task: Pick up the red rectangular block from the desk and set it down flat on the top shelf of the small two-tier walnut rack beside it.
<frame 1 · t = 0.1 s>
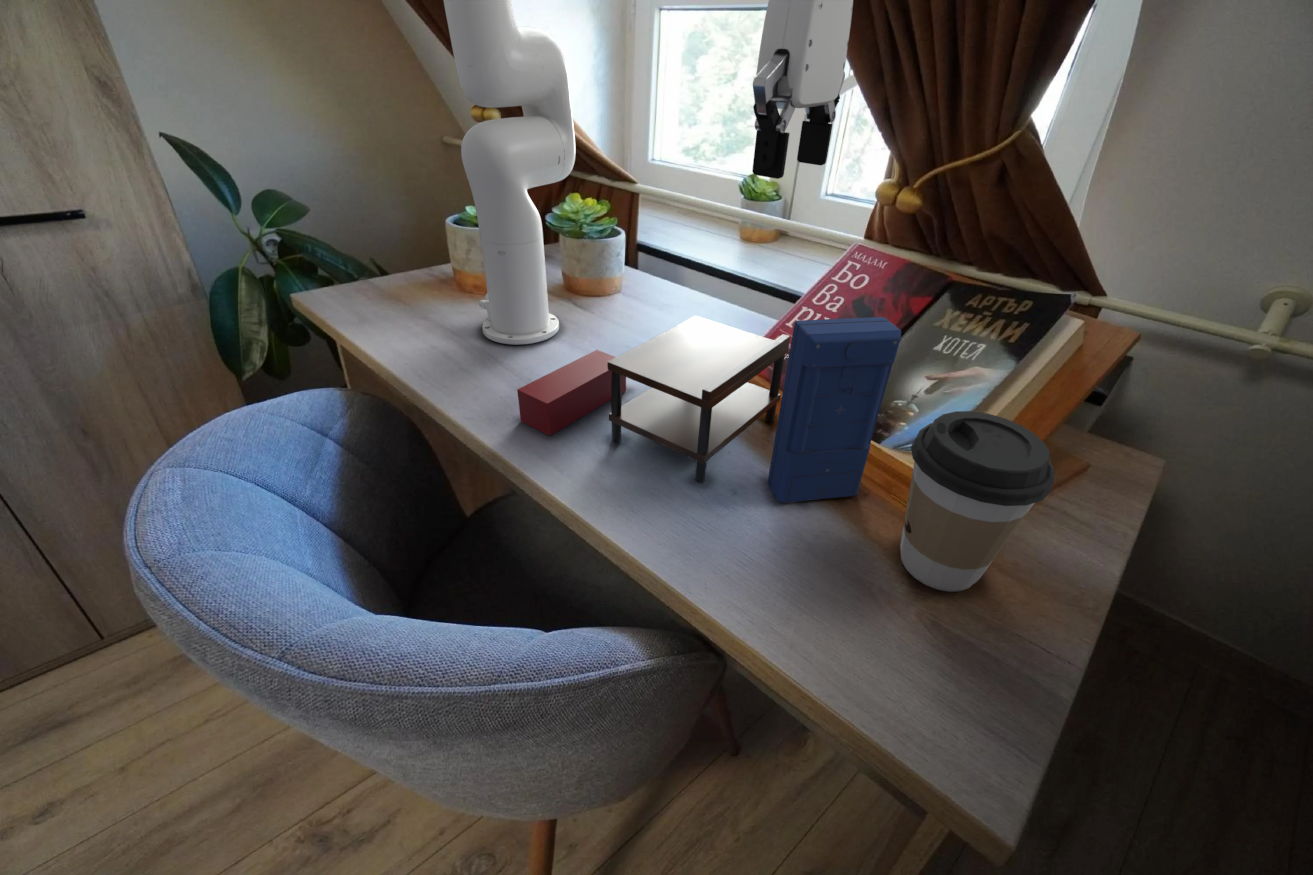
hand: (790, 169, 63), 31 cm above the table, tool pointing down, fingers open, 9 cm apart
electronic device: (810, 489, 69), on the table
rack: (695, 430, 78), on the table
red rectangular block: (575, 405, 82), on the table
coffee cup: (937, 565, 60), on the table
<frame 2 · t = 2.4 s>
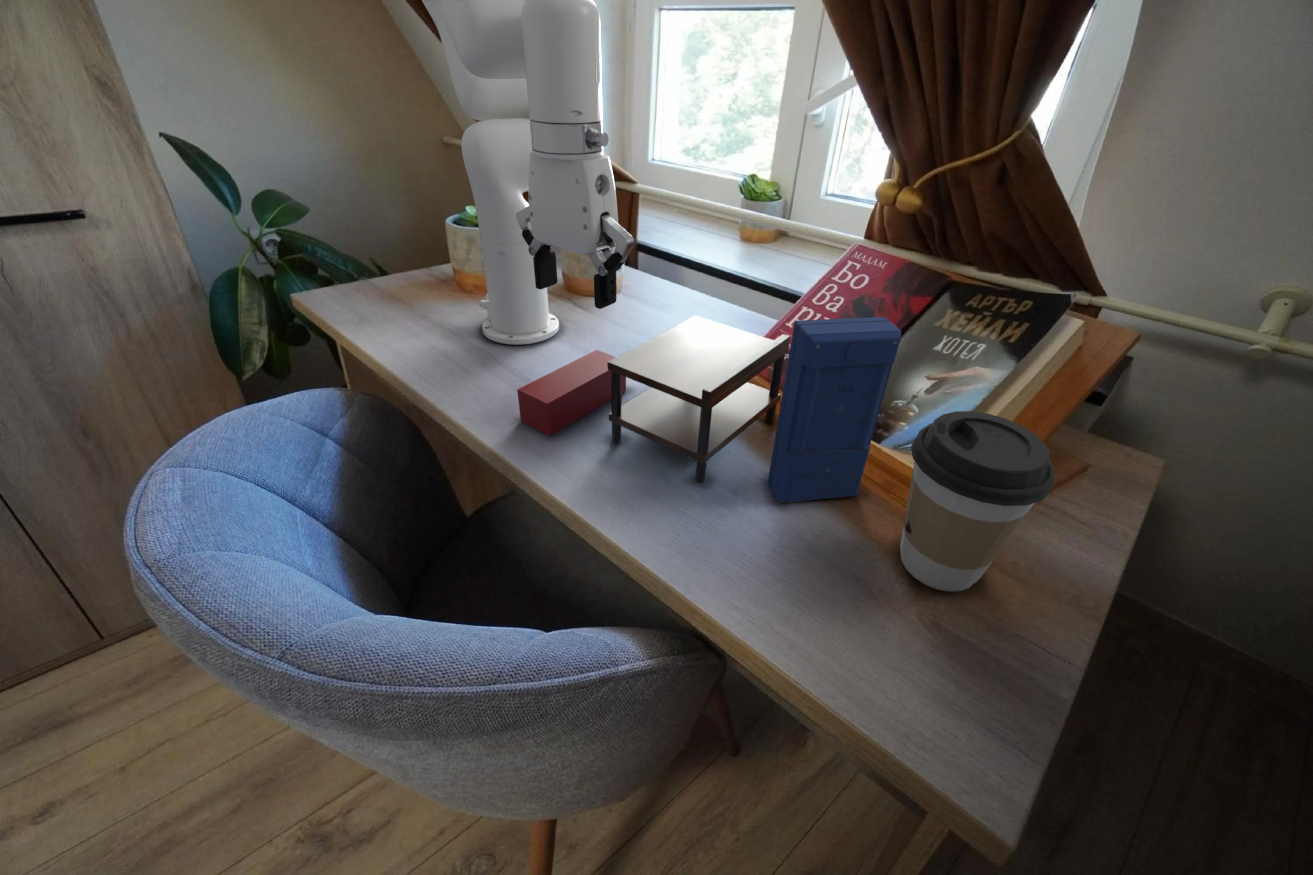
hand: (575, 295, 73), 16 cm above the table, tool pointing down, fingers open, 9 cm apart
nothing on the table moved.
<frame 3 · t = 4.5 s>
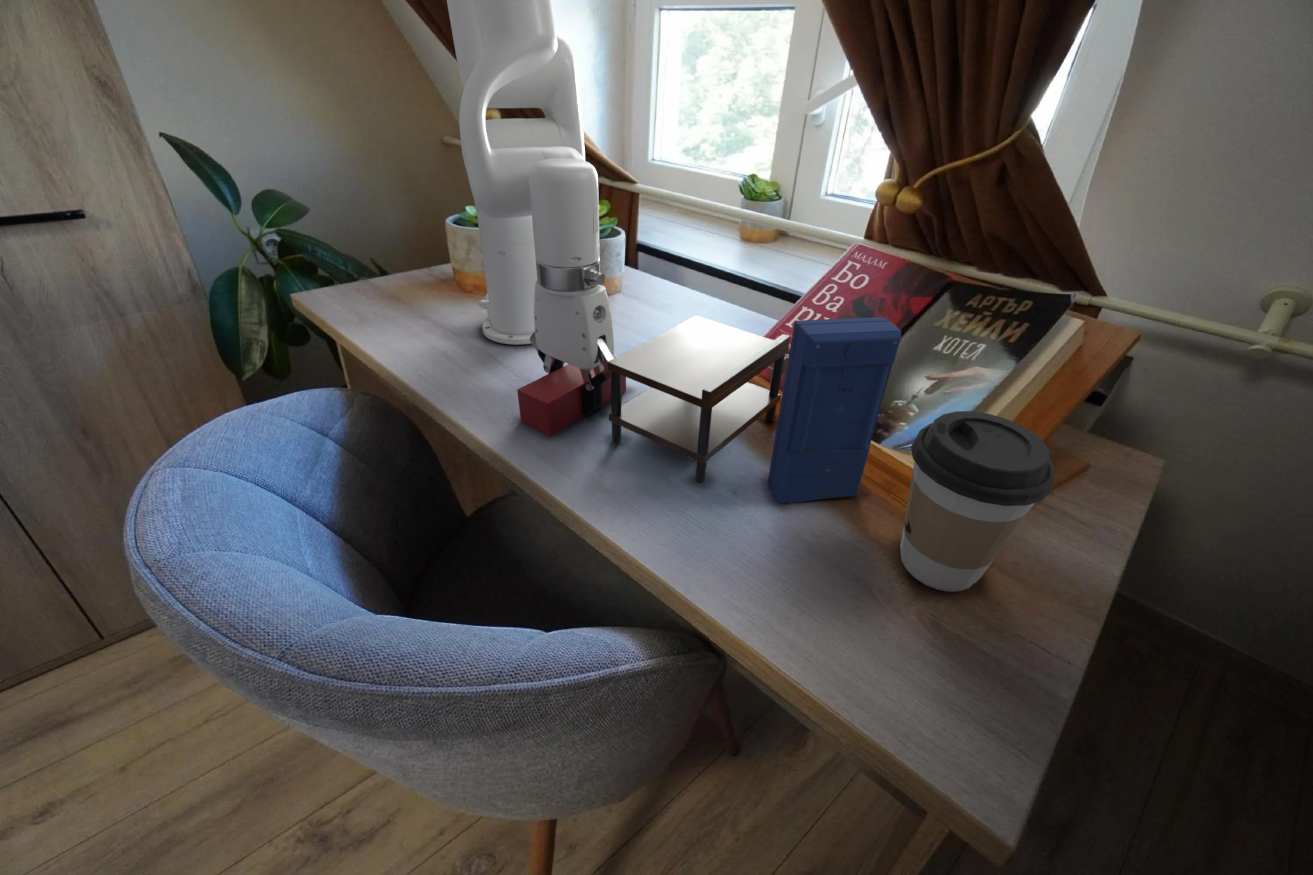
hand: (575, 402, 82), 0 cm above the table, tool pointing down, fingers closed on red rectangular block, 5 cm apart
red rectangular block: (575, 405, 82), on the table, touching gripper
everything else where it was.
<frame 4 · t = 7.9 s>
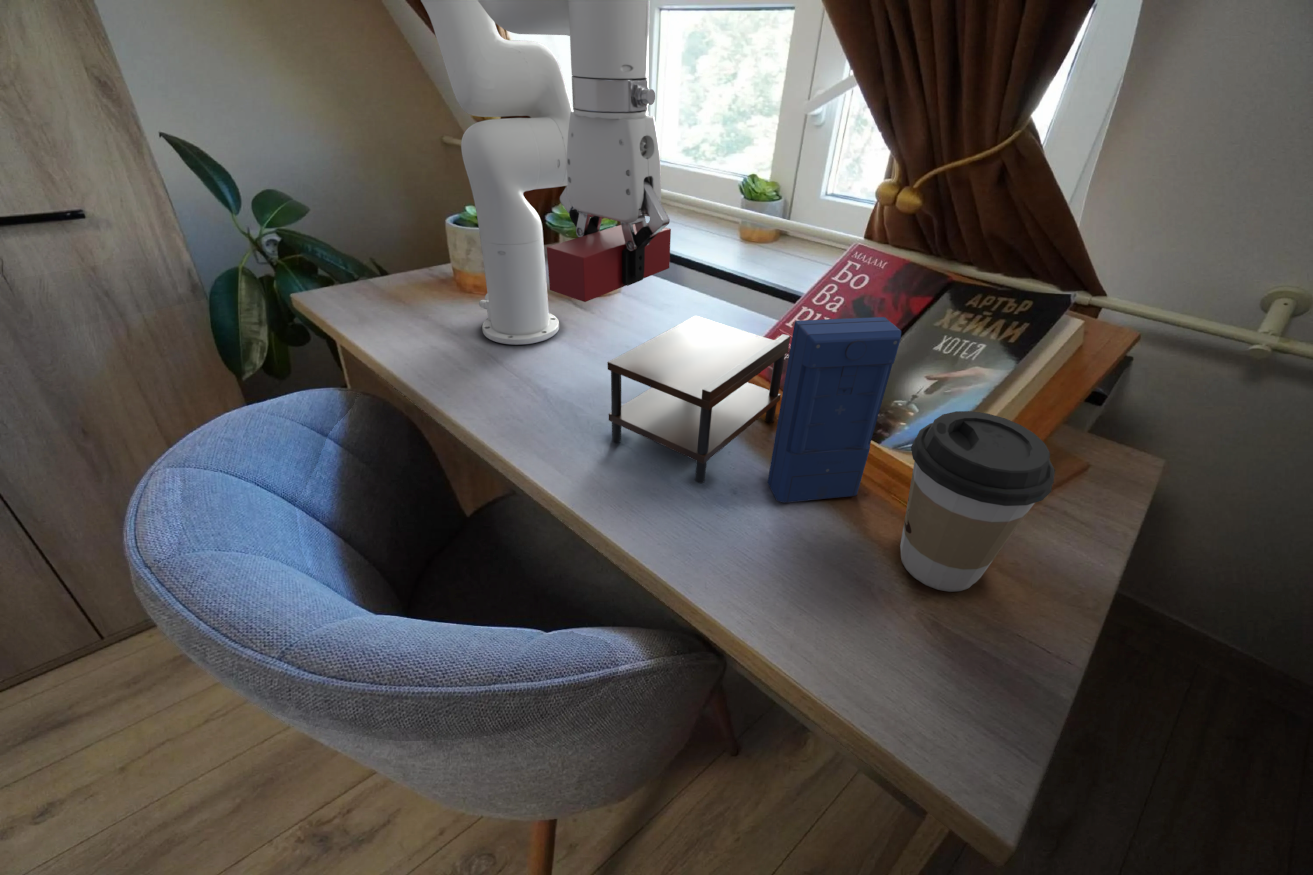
hand: (612, 274, 70), 19 cm above the table, tool pointing down, fingers closed on red rectangular block, 5 cm apart
red rectangular block: (612, 278, 71), point 19 cm above the table, touching gripper
everything else where it was.
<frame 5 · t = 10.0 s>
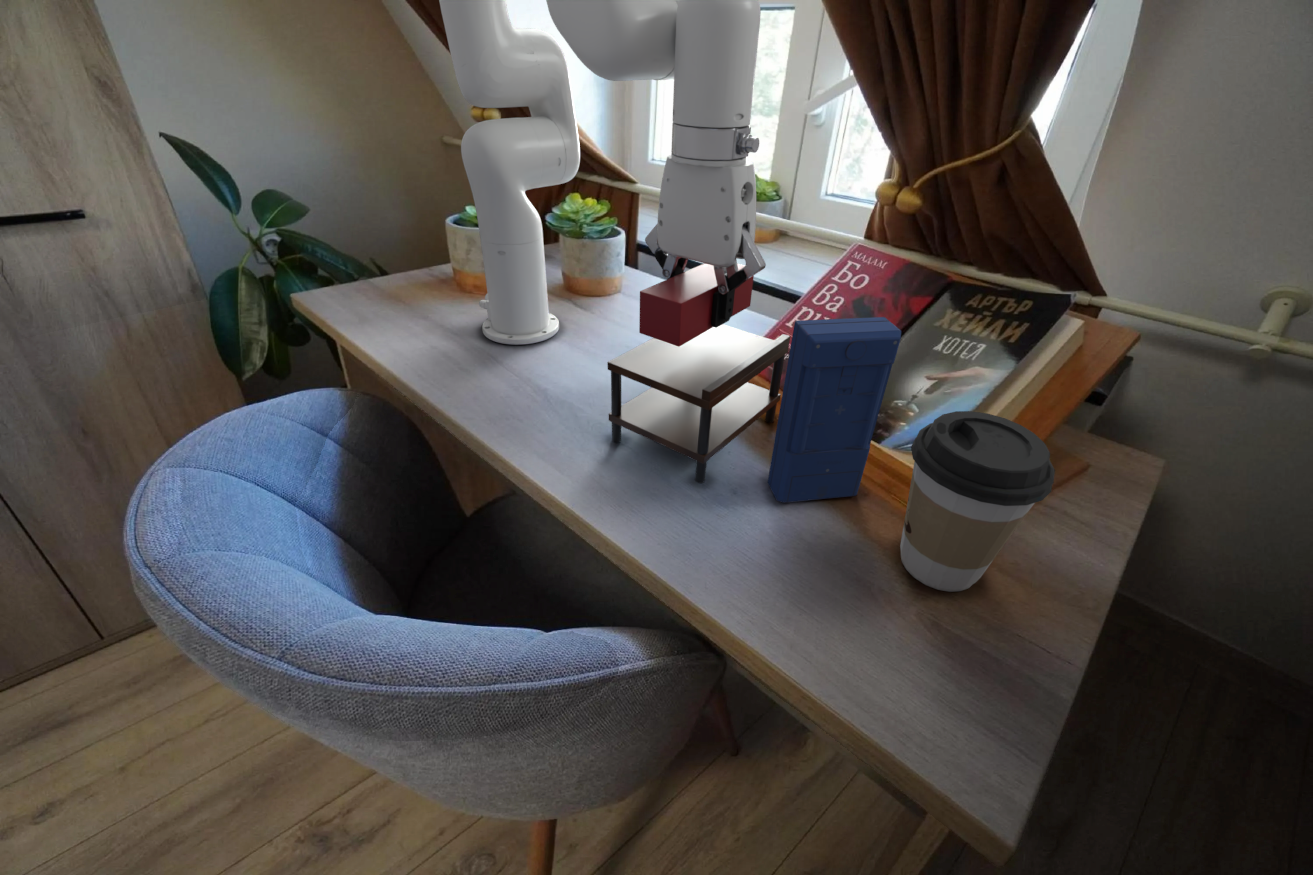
hand: (698, 315, 70), 16 cm above the table, tool pointing down, fingers closed on red rectangular block, 5 cm apart
red rectangular block: (697, 319, 70), point 15 cm above the table, touching gripper
everything else where it was.
when the fingers open (11 cm above the table, at t = 11.5 s): red rectangular block stays where it is, resting on rack.
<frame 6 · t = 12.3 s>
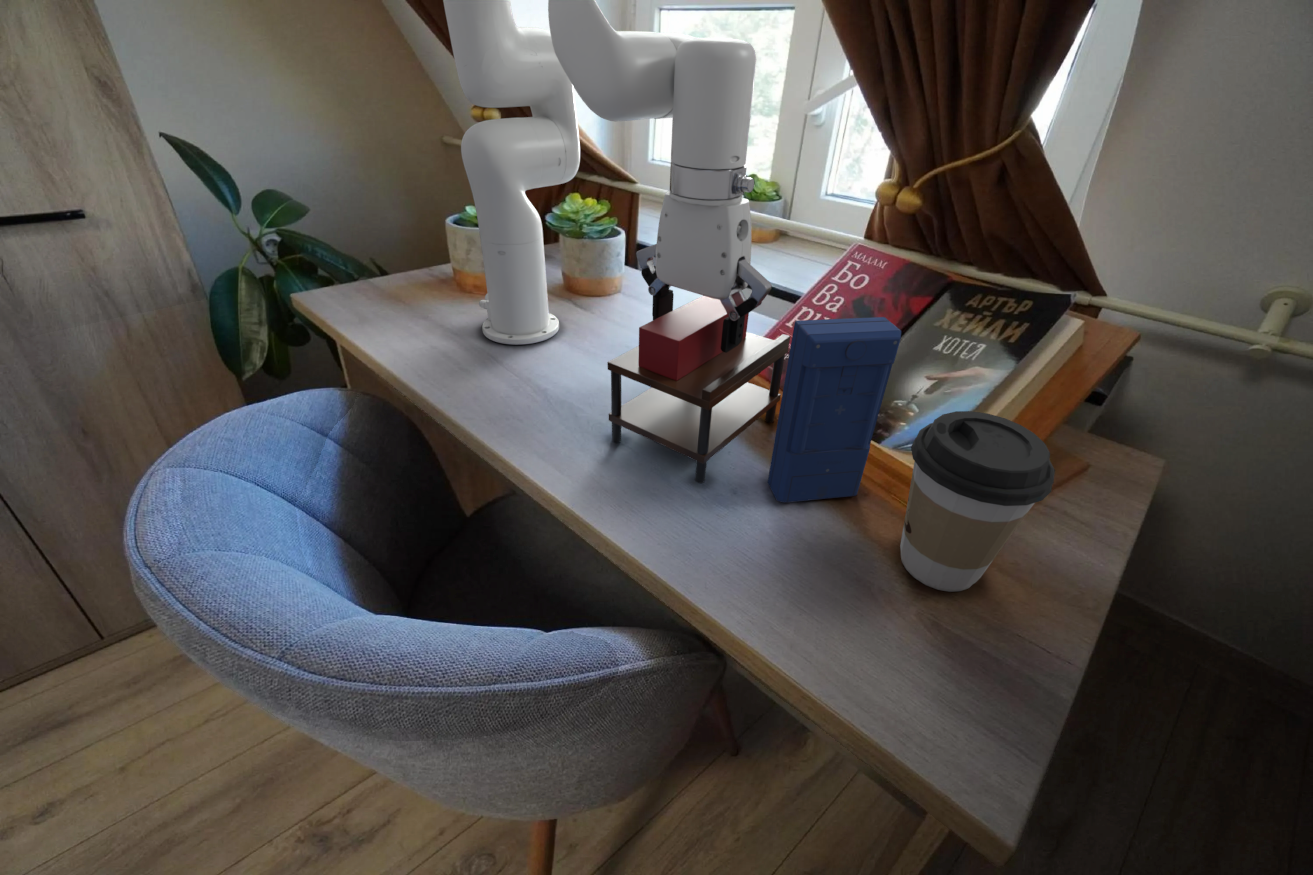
hand: (695, 336, 72), 13 cm above the table, tool pointing down, fingers open, 9 cm apart
red rectangular block: (694, 351, 72), point 11 cm above the table, touching rack
everything else where it was.
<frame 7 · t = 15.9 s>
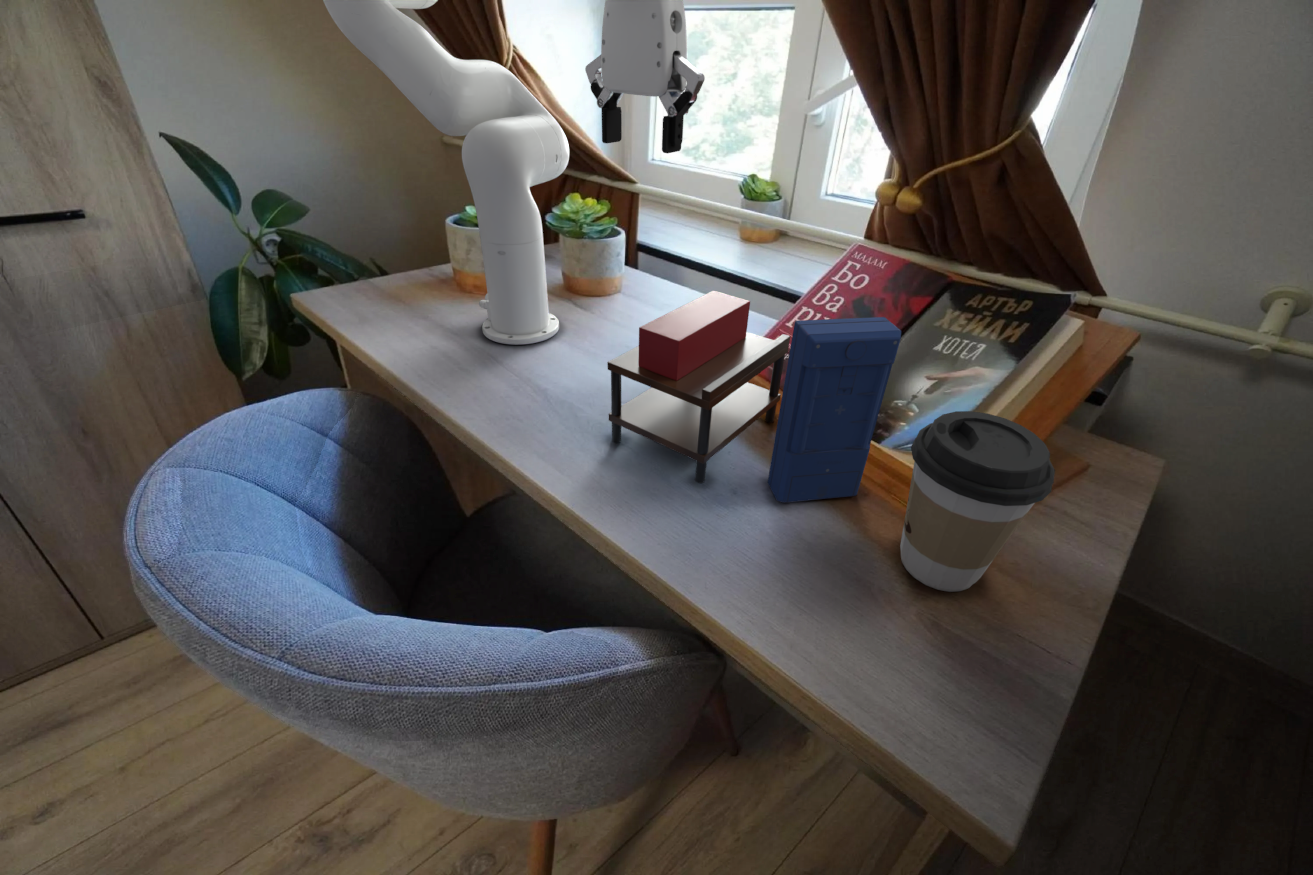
hand: (640, 147, 77), 30 cm above the table, tool pointing down, fingers open, 9 cm apart
nothing on the table moved.
at the end: red rectangular block inside the target area on the rack (0.9 cm from its centre), point 11.0 cm above the rack's base; red rectangular block tilted 0°; the gripper is holding nothing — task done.
